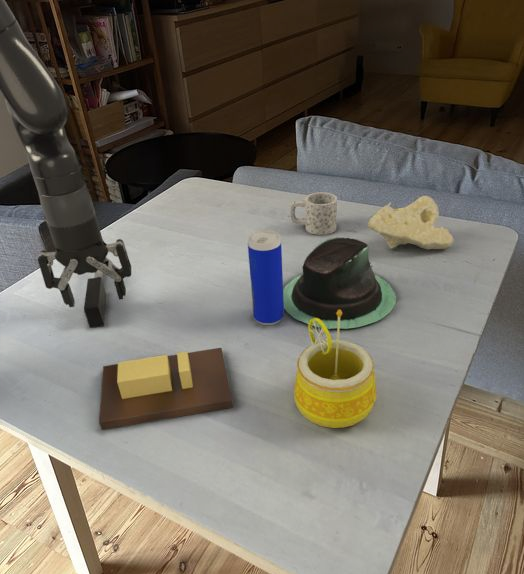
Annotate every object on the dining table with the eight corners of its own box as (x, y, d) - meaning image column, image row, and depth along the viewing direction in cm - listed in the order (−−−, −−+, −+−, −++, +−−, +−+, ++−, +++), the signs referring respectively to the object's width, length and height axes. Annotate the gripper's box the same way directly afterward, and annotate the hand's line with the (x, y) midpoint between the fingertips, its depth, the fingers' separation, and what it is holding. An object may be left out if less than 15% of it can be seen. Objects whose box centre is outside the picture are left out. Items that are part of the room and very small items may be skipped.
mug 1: (338, 221, 118) (339, 192, 114) (334, 235, 113) (335, 205, 109) (293, 219, 120) (292, 191, 116) (287, 233, 115) (286, 203, 111)
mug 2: (374, 438, 68) (382, 366, 61) (289, 430, 70) (287, 359, 63) (375, 373, 78) (382, 304, 71) (301, 367, 80) (300, 300, 73)
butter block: (122, 399, 75) (117, 382, 73) (122, 379, 78) (117, 362, 76) (172, 390, 75) (168, 373, 73) (170, 371, 79) (167, 354, 77)
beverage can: (261, 306, 93) (256, 227, 84) (288, 312, 92) (286, 232, 82) (248, 322, 90) (241, 241, 81) (276, 329, 88) (272, 247, 79)
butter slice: (182, 389, 75) (178, 372, 73) (180, 369, 79) (176, 352, 77) (192, 387, 76) (189, 370, 74) (190, 368, 79) (187, 351, 77)
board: (101, 430, 72) (98, 422, 71) (105, 373, 81) (103, 366, 81) (233, 407, 74) (232, 399, 73) (222, 354, 83) (221, 347, 83)
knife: (104, 325, 92) (98, 306, 89) (89, 328, 91) (83, 308, 89) (108, 271, 106) (103, 253, 104) (96, 273, 106) (90, 255, 104)
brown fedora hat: (307, 254, 105) (408, 274, 98) (274, 338, 99) (380, 364, 93) (293, 206, 92) (410, 224, 85) (255, 299, 86) (377, 327, 79)
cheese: (445, 241, 112) (395, 190, 111) (467, 227, 105) (414, 172, 104) (403, 289, 108) (351, 235, 107) (424, 277, 101) (368, 220, 100)
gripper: (116, 199, 88) (137, 284, 98) (27, 211, 86) (57, 296, 96) (115, 218, 82) (137, 306, 92) (19, 231, 80) (53, 319, 91)
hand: (96, 301), depth 94 cm, fingers open, 8 cm apart
